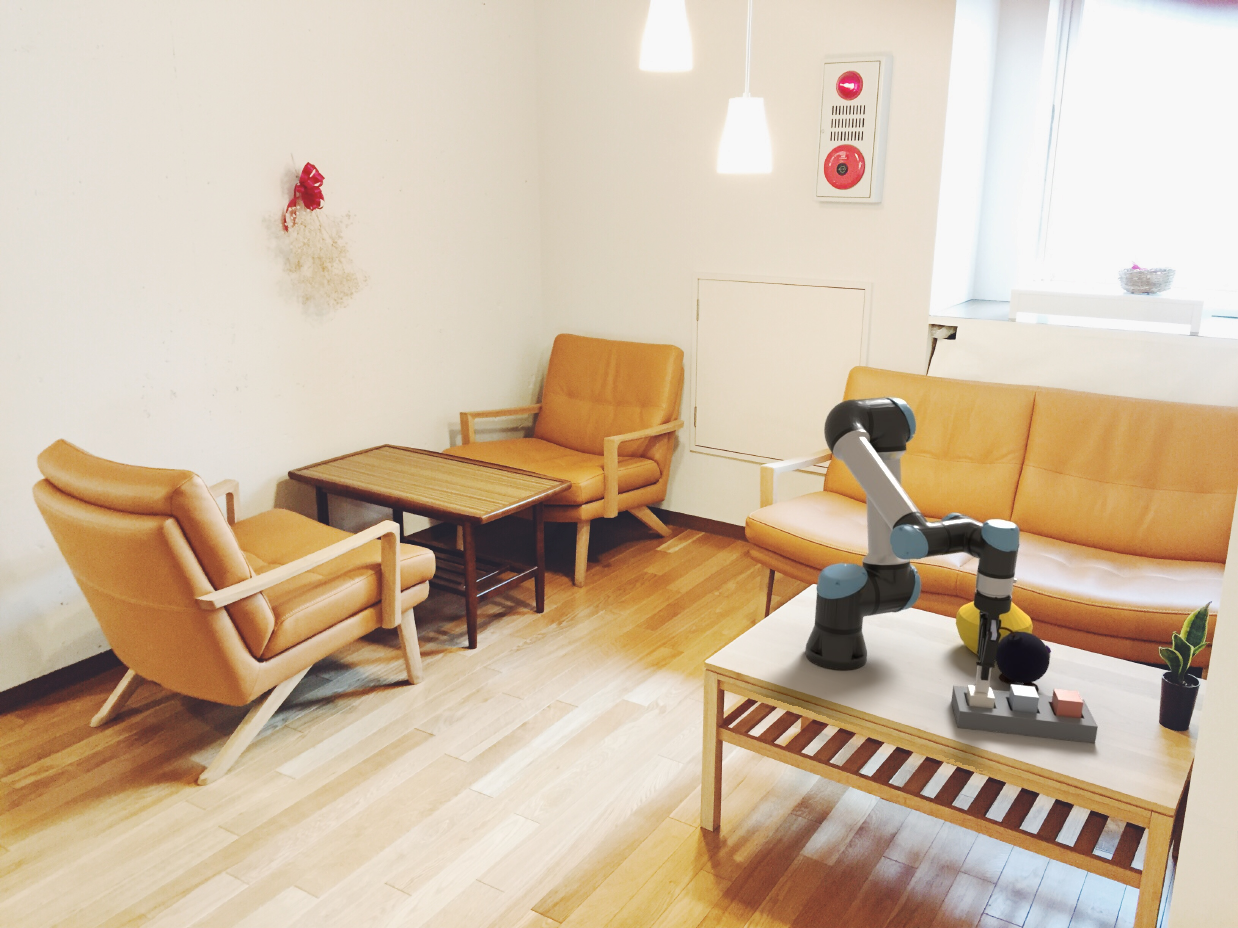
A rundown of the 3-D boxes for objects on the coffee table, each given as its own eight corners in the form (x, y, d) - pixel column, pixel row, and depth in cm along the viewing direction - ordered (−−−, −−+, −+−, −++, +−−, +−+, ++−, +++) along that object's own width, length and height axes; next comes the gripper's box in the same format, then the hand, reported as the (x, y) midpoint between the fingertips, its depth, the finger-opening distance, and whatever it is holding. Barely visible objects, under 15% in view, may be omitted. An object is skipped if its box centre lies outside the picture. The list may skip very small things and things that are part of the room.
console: (957, 727, 214) (959, 710, 213) (951, 700, 226) (953, 685, 225) (1095, 743, 209) (1097, 726, 208) (1081, 715, 220) (1083, 699, 219)
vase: (1035, 646, 254) (1044, 577, 249) (1020, 673, 239) (1030, 601, 234) (962, 629, 264) (970, 563, 259) (944, 654, 249) (952, 584, 244)
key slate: (1012, 710, 214) (1014, 694, 213) (1008, 699, 219) (1010, 684, 218) (1036, 713, 213) (1039, 697, 212) (1032, 702, 218) (1034, 686, 217)
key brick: (1056, 715, 213) (1058, 699, 212) (1051, 704, 217) (1053, 688, 216) (1080, 718, 212) (1083, 702, 211) (1075, 707, 216) (1077, 691, 215)
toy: (1056, 693, 230) (1065, 634, 226) (1007, 700, 226) (1015, 640, 222) (1022, 670, 241) (1030, 613, 237) (975, 676, 238) (982, 619, 234)
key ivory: (968, 711, 216) (970, 695, 215) (965, 700, 221) (967, 684, 220) (992, 713, 216) (994, 697, 214) (989, 702, 220) (991, 687, 219)
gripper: (1017, 604, 204) (1004, 706, 210) (1006, 582, 217) (994, 678, 223) (979, 601, 206) (967, 702, 212) (971, 578, 218) (960, 675, 224)
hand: (981, 690), depth 217 cm, fingers closed
